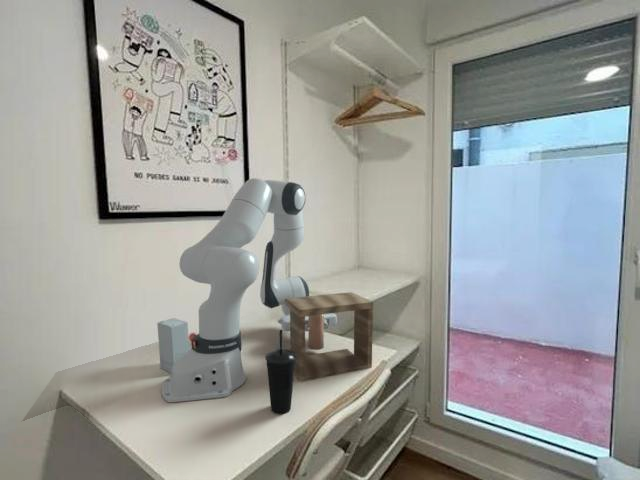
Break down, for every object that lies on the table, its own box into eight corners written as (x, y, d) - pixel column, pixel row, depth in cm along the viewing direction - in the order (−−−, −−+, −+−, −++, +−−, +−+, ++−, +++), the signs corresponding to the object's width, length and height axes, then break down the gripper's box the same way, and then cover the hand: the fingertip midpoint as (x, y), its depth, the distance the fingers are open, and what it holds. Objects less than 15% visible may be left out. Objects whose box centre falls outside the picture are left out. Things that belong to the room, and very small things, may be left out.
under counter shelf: (299, 381, 100) (300, 310, 98) (285, 362, 113) (285, 298, 111) (371, 367, 109) (373, 301, 108) (350, 350, 122) (351, 292, 120)
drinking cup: (298, 401, 90) (298, 325, 88) (293, 418, 82) (293, 336, 80) (269, 399, 90) (269, 324, 89) (261, 416, 83) (261, 335, 81)
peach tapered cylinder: (312, 350, 116) (312, 315, 115) (306, 345, 121) (306, 311, 120) (326, 348, 118) (326, 313, 117) (319, 343, 123) (320, 309, 122)
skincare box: (191, 368, 108) (189, 321, 106) (172, 375, 103) (171, 326, 102) (176, 361, 113) (175, 316, 112) (158, 367, 108) (156, 321, 107)
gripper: (276, 311, 126) (288, 322, 114) (327, 305, 134) (343, 315, 122) (276, 327, 127) (288, 341, 114) (327, 321, 135) (343, 333, 122)
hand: (317, 327), depth 118 cm, fingers closed on peach tapered cylinder, 5 cm apart
